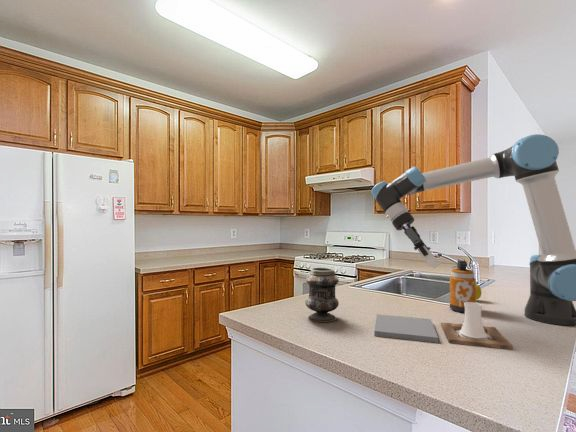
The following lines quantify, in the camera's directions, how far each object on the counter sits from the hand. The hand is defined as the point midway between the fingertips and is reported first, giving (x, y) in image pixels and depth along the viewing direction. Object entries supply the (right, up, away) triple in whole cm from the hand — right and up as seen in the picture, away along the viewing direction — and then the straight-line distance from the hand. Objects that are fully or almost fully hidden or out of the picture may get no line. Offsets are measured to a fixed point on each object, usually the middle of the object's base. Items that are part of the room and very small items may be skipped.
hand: (435, 265), depth 111 cm
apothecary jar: (-39, -20, +4) cm, 44 cm away
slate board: (-14, -20, -7) cm, 25 cm away
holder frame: (+5, -20, -13) cm, 25 cm away
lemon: (+31, -20, +29) cm, 47 cm away
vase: (+5, -20, -13) cm, 25 cm away
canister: (+18, -20, +15) cm, 31 cm away
